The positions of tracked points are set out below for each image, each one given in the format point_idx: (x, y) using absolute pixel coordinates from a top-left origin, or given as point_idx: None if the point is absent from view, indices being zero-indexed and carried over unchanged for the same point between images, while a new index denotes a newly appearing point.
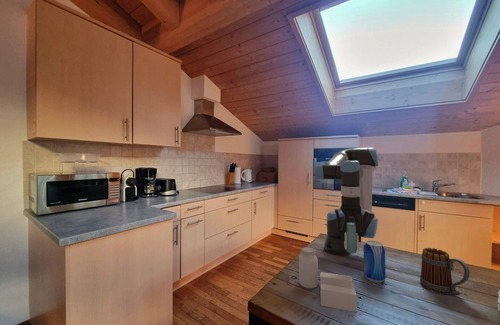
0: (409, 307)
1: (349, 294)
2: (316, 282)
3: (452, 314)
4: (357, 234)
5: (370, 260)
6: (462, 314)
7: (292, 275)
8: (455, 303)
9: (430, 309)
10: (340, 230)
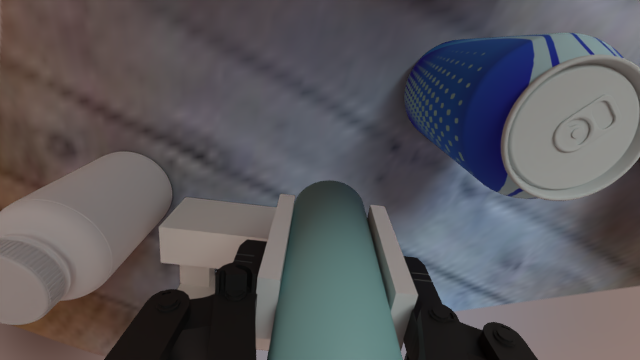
0: (467, 265)
1: (265, 348)
2: (160, 219)
3: (577, 275)
4: (402, 327)
5: (452, 158)
6: (609, 270)
7: (49, 132)
8: None
9: (529, 264)
10: (191, 353)
